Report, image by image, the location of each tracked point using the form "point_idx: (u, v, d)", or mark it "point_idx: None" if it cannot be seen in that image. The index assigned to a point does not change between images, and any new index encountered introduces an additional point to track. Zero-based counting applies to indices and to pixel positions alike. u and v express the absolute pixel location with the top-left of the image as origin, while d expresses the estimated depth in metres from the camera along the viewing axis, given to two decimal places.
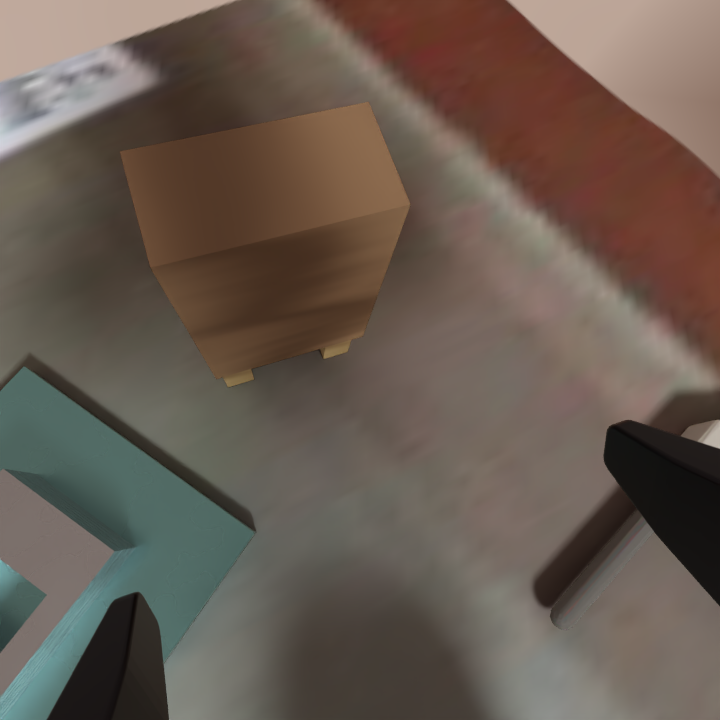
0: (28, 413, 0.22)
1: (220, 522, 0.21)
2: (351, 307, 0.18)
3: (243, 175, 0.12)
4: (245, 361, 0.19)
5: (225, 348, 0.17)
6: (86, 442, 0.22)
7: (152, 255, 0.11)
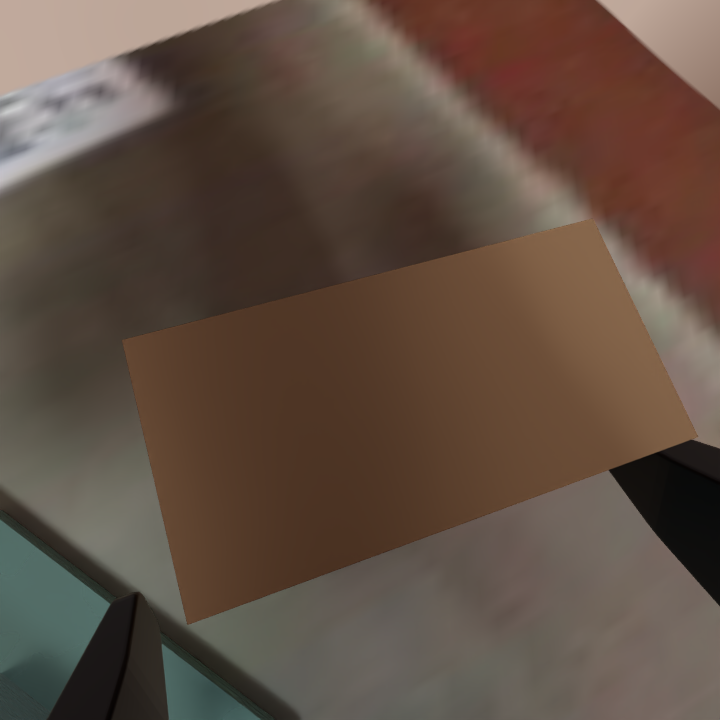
0: None
1: None
2: None
3: (373, 386, 0.06)
4: None
5: None
6: (72, 622, 0.15)
7: (192, 594, 0.05)
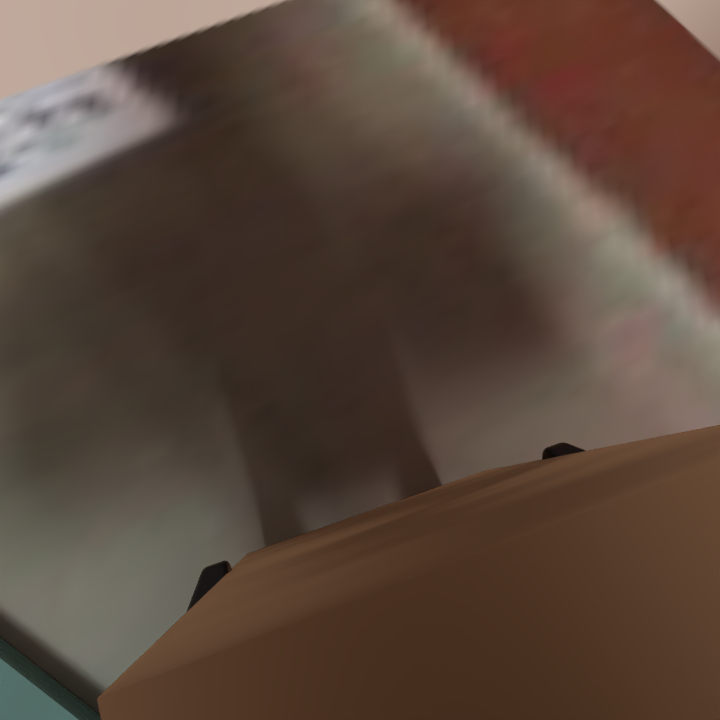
0: None
1: None
2: None
3: None
4: None
5: None
6: None
7: None
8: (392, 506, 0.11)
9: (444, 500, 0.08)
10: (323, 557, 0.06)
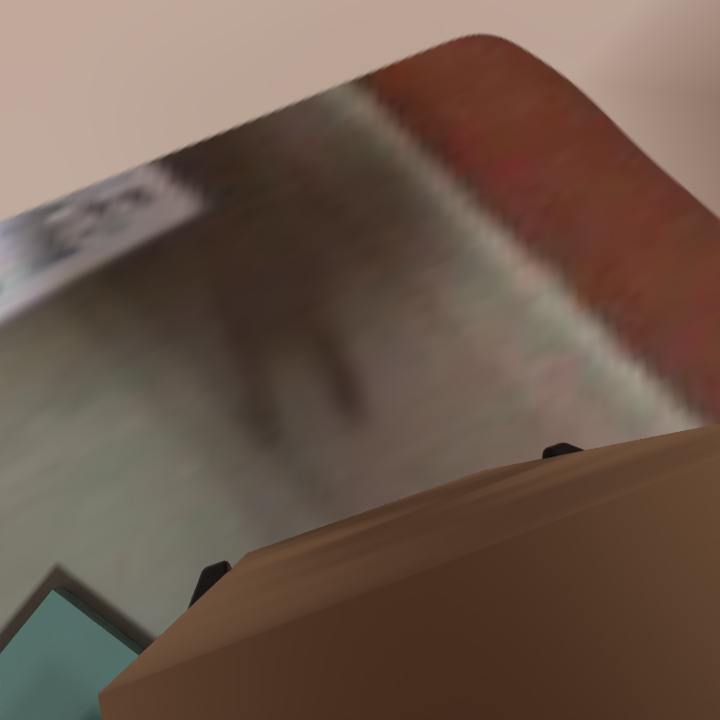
0: (58, 652, 0.18)
1: None
2: None
3: None
4: None
5: None
6: None
7: None
8: (392, 505, 0.11)
9: (443, 499, 0.08)
10: (323, 556, 0.06)
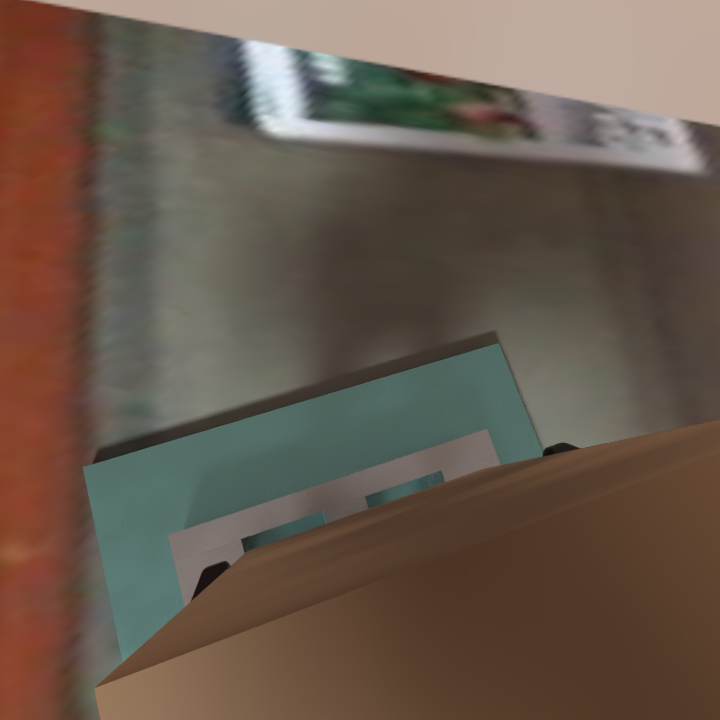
0: (484, 383, 0.23)
1: None
2: None
3: None
4: None
5: None
6: (514, 438, 0.23)
7: None
8: (391, 504, 0.11)
9: (443, 497, 0.08)
10: (322, 552, 0.06)
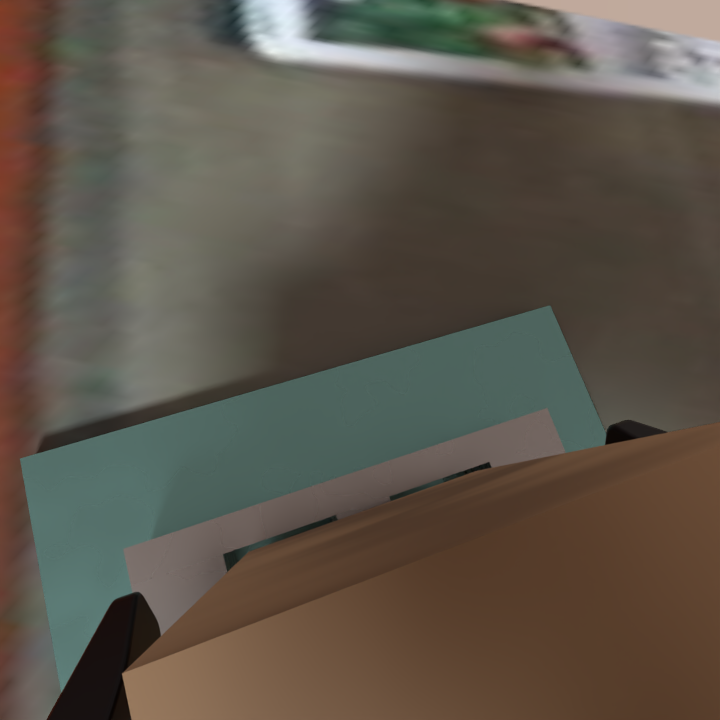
0: (533, 355, 0.18)
1: None
2: None
3: None
4: None
5: None
6: (573, 423, 0.18)
7: None
8: (387, 505, 0.12)
9: (435, 499, 0.09)
10: (320, 553, 0.06)
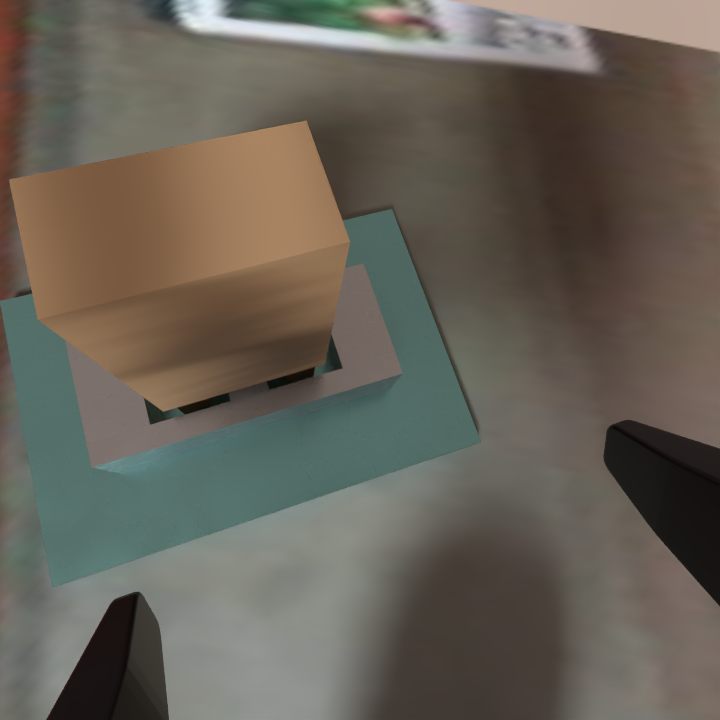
0: (375, 243, 0.25)
1: (460, 415, 0.23)
2: (303, 339, 0.16)
3: (155, 208, 0.10)
4: (192, 394, 0.18)
5: (163, 385, 0.16)
6: (402, 290, 0.25)
7: (40, 304, 0.10)
8: None
9: None
10: None
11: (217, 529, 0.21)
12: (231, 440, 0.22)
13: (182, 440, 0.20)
